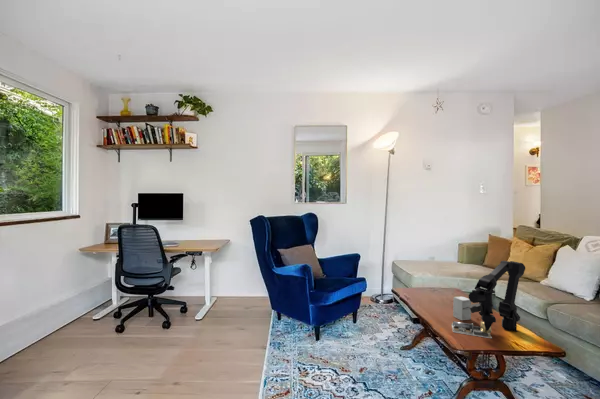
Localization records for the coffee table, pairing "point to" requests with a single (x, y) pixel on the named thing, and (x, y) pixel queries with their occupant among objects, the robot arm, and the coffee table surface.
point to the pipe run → (469, 329)
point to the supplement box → (461, 308)
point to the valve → (484, 328)
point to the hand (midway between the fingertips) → (485, 328)
